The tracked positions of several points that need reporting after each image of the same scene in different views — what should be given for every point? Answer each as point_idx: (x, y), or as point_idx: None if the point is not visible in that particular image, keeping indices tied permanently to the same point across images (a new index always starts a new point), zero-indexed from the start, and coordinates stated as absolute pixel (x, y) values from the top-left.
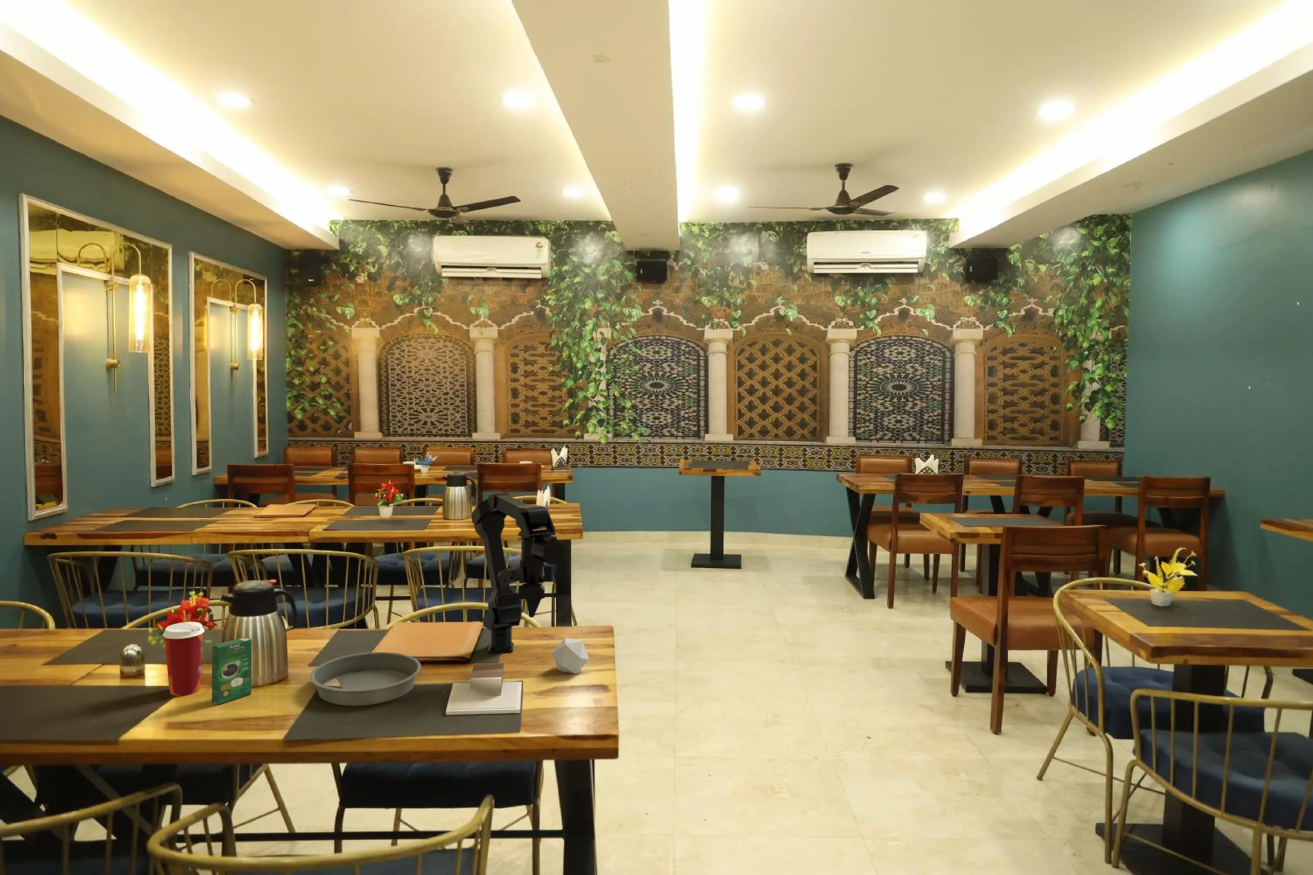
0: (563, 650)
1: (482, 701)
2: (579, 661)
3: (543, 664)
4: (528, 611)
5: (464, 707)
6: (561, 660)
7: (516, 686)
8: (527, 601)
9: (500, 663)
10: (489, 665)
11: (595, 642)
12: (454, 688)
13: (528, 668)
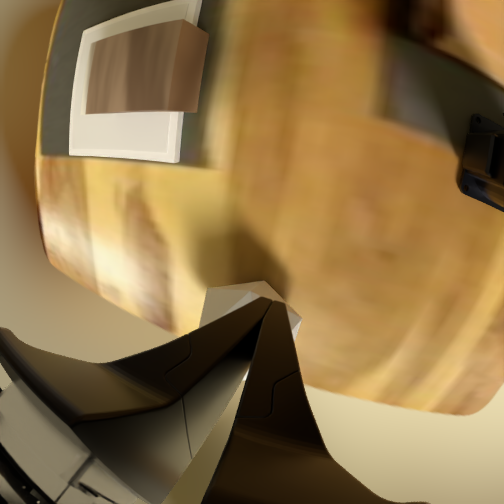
0: (202, 319)
1: None
2: None
3: (324, 255)
4: (228, 313)
5: (84, 55)
6: (207, 296)
7: (147, 147)
8: (138, 361)
9: (164, 99)
10: (156, 67)
11: (416, 397)
12: (166, 6)
13: (302, 202)
